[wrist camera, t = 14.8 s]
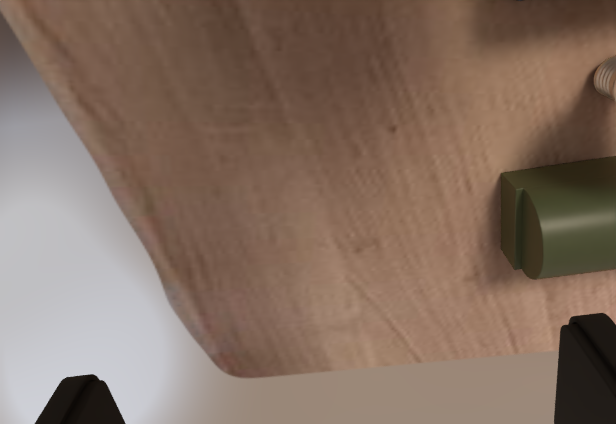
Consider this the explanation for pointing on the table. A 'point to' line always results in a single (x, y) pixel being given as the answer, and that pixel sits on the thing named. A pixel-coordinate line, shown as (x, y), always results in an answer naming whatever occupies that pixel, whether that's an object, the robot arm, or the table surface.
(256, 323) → the table surface
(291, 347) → the table surface
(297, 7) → the table surface
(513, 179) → the olive bag
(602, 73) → the lightbulb
